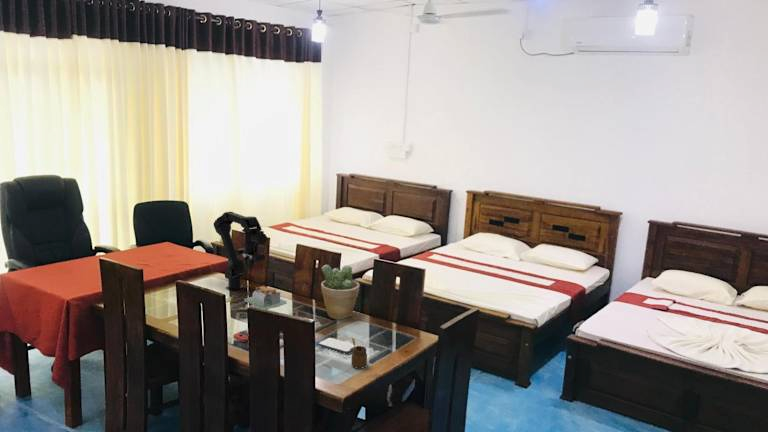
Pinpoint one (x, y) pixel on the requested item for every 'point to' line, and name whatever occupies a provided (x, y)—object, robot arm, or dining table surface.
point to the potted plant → (339, 291)
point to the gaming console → (241, 336)
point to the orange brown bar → (267, 289)
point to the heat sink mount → (265, 299)
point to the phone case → (337, 345)
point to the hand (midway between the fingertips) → (250, 270)
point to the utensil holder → (359, 355)
